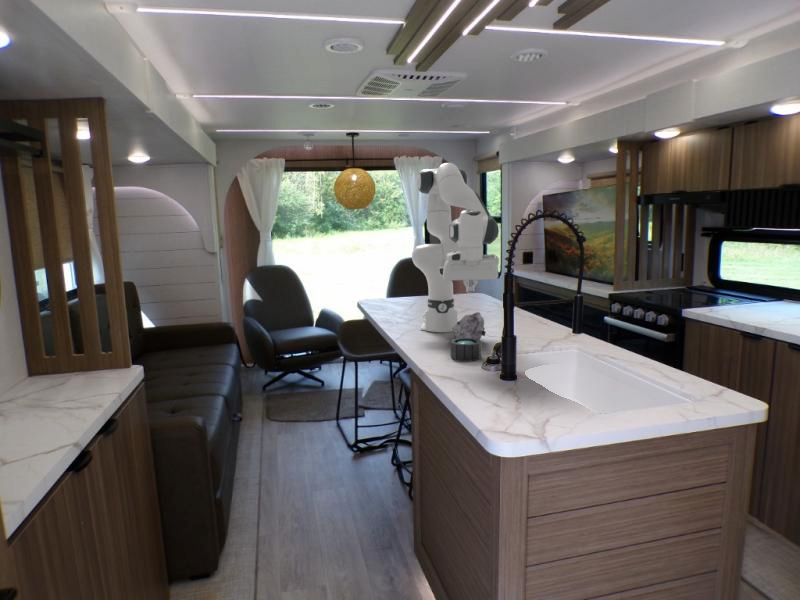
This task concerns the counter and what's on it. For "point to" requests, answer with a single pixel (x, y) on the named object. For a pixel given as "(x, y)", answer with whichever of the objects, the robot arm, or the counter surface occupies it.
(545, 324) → the counter surface
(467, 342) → the teal cube
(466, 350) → the grey short cylinder
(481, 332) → the rock
